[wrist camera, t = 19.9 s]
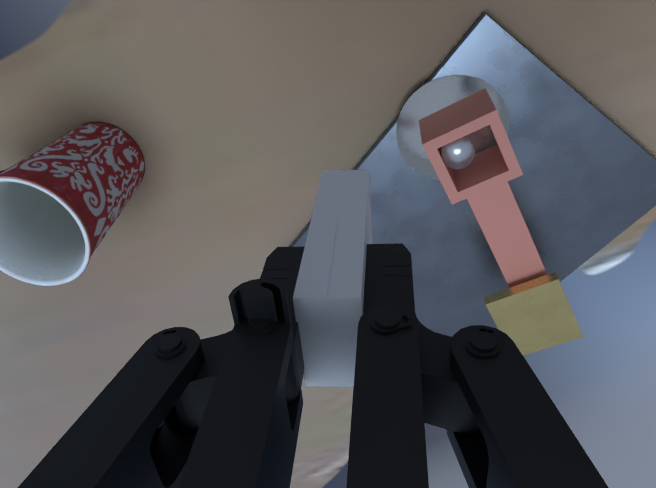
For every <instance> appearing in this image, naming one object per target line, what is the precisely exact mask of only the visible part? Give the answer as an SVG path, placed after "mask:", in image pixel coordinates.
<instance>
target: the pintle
mask: <svg viewBox="0 0 656 488" xmlns="http://www.w3.org/2000/svg"><path fill="white" fill-rule="evenodd" d="M440 150H441V155H442V159H443V162H444V163H445V164H446V165H447V166H448V167H450V168H452V169H462V168H465V167H467V166H468V165H469V164H471V162H472V161H473V159H474V157H475V149H474V146H473V143H472V140H471V137H470V134H468V135H466V136H464V137H462V138H459V139H457V140H455V141H453V142H451V143H449V144H446V145H444V146H442V147H440Z"/></svg>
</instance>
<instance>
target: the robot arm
mask: <svg viewBox="0 0 656 488" xmlns="http://www.w3.org/2000/svg"><path fill="white" fill-rule="evenodd" d="M228 297H229V301H230V306H231V310H232V315H233V319H234V324H235V325H234V328H233V330H232V331H229V332H227V333H225V334H222V335H218V336H214V337H210V338H206V339H201V340H200V337H199V335H198V334H197V333H196V332H195V331H194V330H192V329H189V328H186V327H174V328H169V329H165V330H162V331H160V332H158V333H156V334H154V335H153V336H152V337H151V338H149V339H148V340H147V341H146V342H145V343H144V344H143V345H142V346H141V347H140V349H139V350H138V351H137V352H136V353H135V354H134V355H133V357H132V358H131V359H130V360H129V361H128V362H127V363H126V365H125V366H124V367H123V368H122V369H121V370H120V371H119V373H118V374H117V375H116V376H115V377H114V378H113V379H112V381H111V382H110V383H109V384H108V385H107V386H106V387H105V389H104V390H103V391H102V392H101V393H100V394H99V395H98V397H97V398H96V399H95V400H94V401H93V402H92V403H91V405H90V406H89V407H88V408H87V409H86V410H85V411H84V413H83V414H82V415H81V416H80V417H79V418H78V419H77V421H76V422H75V423H74V424H73V425H72V426H71V427H70V429H69V430H68V431H67V432H66V433H65V434H64V435H63V437H62V438H61V439H60V440H59V441H58V442H57V443H56V445H55V446H54V447H53V448H52V449H51V450H50V451H49V453H48V454H47V455H46V456H45V457H44V458H43V459H42V461H41V462H40V463H39V464H38V465H37V466H36V467H35V469H34V470H33V471H32V472H31V473H30V474H29V475H28V477H27V478H26V479H25V480H24V481H23V482H22V483H21V485H20V486H19V487H18V488H290V482H291V476H292V469H293V463H294V457H295V451H296V444H297V438H298V432H299V426H300V419H301V413H302V407H303V398H302V391H301V385H302V379H303V373H304V380H305V386H337V387H354V389H353V403H352V417H351V432H350V446H349V460H348V474H347V488H429V485H428V471H427V456H426V443H425V442H426V441H425V428H424V423H428V424H431V425H434V426H437V427H441V428H444V429H447V435H448V437H449V440H450V442H451V445H452V447H453V450H454V452H455V454H456V457H457V460H458V462H459V464H460V467H461V469H462V472H463V474H464V477H465V479H466V481H467V484H468V486H469V488H608V486H607V485H606V483H605V482H604V480H603V478H602V477H601V475H600V474H599V472H598V471H597V469H596V468H595V466H594V465H593V463H592V462H591V460H590V459H589V457H588V456H587V454H586V453H585V451H584V449H583V448H582V446H581V445H580V443H579V441H578V440H577V438H576V437H575V435H574V434H573V432H572V431H571V429H570V428H569V426H568V425H567V423H566V422H565V420H564V418H563V417H562V416H561V414H560V412H559V411H558V409H557V408H556V406H555V404H554V403H553V402H552V400H551V399H550V397H549V396H548V394H547V392H546V391H545V389H544V388H543V386H542V384H541V383H540V381H539V380H538V378H537V377H536V375H535V374H534V372H533V371H532V369H531V368H530V366H529V365H528V363H527V361H526V360H525V358H524V357H523V355H522V354H521V352H520V351H519V349H518V347H517V346H516V344H515V343H514V341H513V340H512V339H511V338H510V337H509V336H508V335H507V334H506V333H504V332H502V331H500V330H498V329H496V328H494V327H489V326H485V325H471V326H468V327H465V328H462V329H460V330H459V331H457V332H456V333H455V334H454V335H453V337H451V336H447V335H443V334H440V333H436V332H433V331H432V330H430V329H428V328H426V327H425V326H424V325H423V324H421V323H420V321H419V320H418V318H417V317H416V313H415V302H414V288H413V274H412V259H411V253H410V252H409V250H408V249H407V248H406V247H405V246H404V244H403V243H397V244H372V224H371V201H370V178H369V169H367V170H339V171H322V175H321V179H320V183H319V188H318V192H317V196H316V200H315V205H314V209H313V213H312V218H311V222H310V226H309V231H308V235H307V239H306V243H305V247H277V248H276V249H275V250H274V251H273V252H272V253H271V254H270V255H269V256H268V257H267V259H266V262H265V265H264V268H263V271H262V274H261V277H260V279H256V280H250V281H248V282H245V283H242V284H240V285H239V286H238V287H236V288H235V289H233V291H232V292H231V293H230V295H229V296H228Z"/></svg>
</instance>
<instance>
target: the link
mask: <svg viewBox="0 0 656 488" xmlns="http://www.w3.org/2000/svg"><path fill="white" fill-rule="evenodd" d="M418 121H419V127H420V134H421V140H422V145H423V147H424V149H425V151H426V153H427V155H428V157H429V159H430V161H431V163H432V165H433V167H434V169H435V171H436V173H437V176H438V178H439V180H440V182H441V184H442V186H443V188H444V190H445V192H446V194H447V196H448V198H449V200H450V202H451V204H452V205H453V204H455V203H457V202H460V201H462V200H464V199H467V200H468V202H469V204H470V206H471V208H472V211H473V213H474V215H475V217H476V219H477V221H478V223H479V225H480V227H481V229H482V232H483V234H484V236H485V238H486V240H487V242H488V244H489V246H490V248H491V250H492V252H493V255H494V257H495V259H496V261H497V263H498V265H499V267H500V269H501V271H502V273H503V275H504V278H505V280H506V282H507V284H508V286H509V288H511V287H514V286H517V285H519V284H522V283H525V282H528V281H531V280H533V279H536V278H539V277H542V276H545V275H547V272H546V270H545V268H544V265H543V263H542V261H541V258H540V256H539V254H538V251H537V249H536V247H535V244H534V242H533V240H532V237H531V235H530V233H529V230H528V228H527V226H526V223H525V221H524V219H523V216H522V214H521V212H520V209H519V207H518V205H517V202H516V200H515V198H514V195H513V193H512V191H511V188H510V186H509V184H508V181H510V180H512V179H515V178H517V177H519V176H522V175H523V173H522V170H521V168H520V166H519V163H518V161H517V158H516V156H515V153H514V151H513V148H512V146H511V144H510V141H509V139H508V136H507V134H506V131H505V129H504V127H503V124H502V122H501V119H500V117H499V114H498V112H497V110H496V108H495V106H494V104H493V102H492V100H491V98H490V96H489V94H488V92H487V90H486V88H484V89H482V90H480V91H478V92H476V93H474V94H472V95H470V96H468V97H466V98H464V99H461V100H459V101H457V102H455V103H453V104H451V105H449V106H447V107H445V108H443V109H441V110H439V111H437V112H435V113H433V114H430V115H428V116H426V117H424V118H422V119H420V120H418ZM488 125H489V126H490V128H491V131H492V133H493V135H494V138H495V140H496V143H497V145H494V146H492V147H490V148H488V149H485V150H483V151H481V152H479V153H476V154H475V157H474V159H473V161H472V162H471V164H469V165H468V166H467V167H465V168H462V169H452V168H450V167H448V166H447V165H446V164H445V163H444V162H443V159H442V155H441V150H440V147H442V146H444V145H446V144H449V143H451V142H453V141H455V140H457V139H459V138H462V137H464V136H466V135H468V134H470V133H472V132H475V131H477V130H479V129H481V128H483V127H485V126H488Z"/></svg>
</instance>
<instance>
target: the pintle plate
mask: <svg viewBox="0 0 656 488" xmlns="http://www.w3.org/2000/svg"><path fill="white" fill-rule="evenodd" d="M484 88H486V90H487V92H488V94H489V96H490V98H491V100H492V102H493V104H494V106H495V108H496V110H497V112H498V114H499V117H500V119H501V122H502V124H503V127H504V129H505V131H506V134H507V136H508V139H509V141H510V144H511V146H512V148H513V151H514V153H515V156H516V158H517V161H518V163H519V166H520V168H521V170H522V173H523V175H522V176H519V177H517V178H515V179H512V180H510V181H508V184H509V186H510V188H511V191H512V193H513V195H514V198H515V200H516V202H517V205H518V207H519V209H520V212H521V214H522V216H523V219H524V221H525V223H526V226H527V228H528V230H529V233H530V235H531V237H532V240H533V242H534V244H535V247H536V249H537V251H538V254H539V256H540V258H541V261H542V263H543V265H544V268H545V270H546V272H547V275H548V274H550V273H553V272H556V274H557V276H558V279H559V281H561V280H563V279H564V278H565V277H566V276H567V275H569V274H570V273H572V272H573V271H574V270H575V269H577V268H578V267H579V266H580V265H582V264H583V263H584V262H585V261H587V260H588V259H589V258H590V257H592V256H593V255H594V254H595V253H597V252H598V251H599V250H600V249H602V248H603V247H604V246H605V245H607V244H608V243H609V242H610V241H612V240H613V239H614V238H615V237H617V236H618V235H619V234H620V233H622V232H623V231H624V230H625V229H627V228H628V227H629V226H630V225H632V224H633V223H634V222H635V221H637V220H638V219H639V218H641V217H642V216H643V215H644V214H646V213H647V212H648V211H649V210H651V209H652V208H653V207H654V206H656V159H655V158H654V157H652V156H651V155H650V154H649V153H648V152H647V151H645V150H644V149H643V148H642V147H641V146H640V145H638V144H637V143H636V142H635V141H634V140H633V139H631V138H630V137H629V136H628V135H627V134H626V133H624V132H623V131H622V130H621V129H620V128H619V127H617V126H616V125H615V124H614V123H613V122H612V121H610V120H609V119H608V118H607V117H606V116H605V115H603V114H602V113H601V112H600V111H599V110H598V109H596V108H595V107H594V106H593V105H592V104H591V103H589V102H588V101H587V100H586V99H585V98H584V97H582V96H581V95H580V94H579V93H578V92H577V91H575V90H574V89H573V88H572V87H571V86H570V85H568V84H567V83H566V82H565V81H564V80H563V79H561V78H560V77H559V76H558V75H557V74H556V73H554V72H553V71H552V70H551V69H550V68H549V67H547V66H546V65H545V64H544V63H543V62H542V61H540V60H539V59H538V58H537V57H536V56H535V55H533V54H532V53H531V52H530V51H529V50H528V49H526V48H525V47H524V46H523V45H522V44H521V43H519V42H518V41H517V40H516V39H515V38H514V37H512V36H511V35H510V34H509V33H508V32H507V31H505V30H504V29H503V28H502V27H501V26H500V25H498V24H497V23H496V22H495V21H494V20H493V19H491V18H490V17H489V16H488V15H487V14H486V13H484V12H483V13H482V14H481V16H480V17H479V18H478V19H477V20H476V22H475V23H474V24H473V25H472V27H471V28H470V29H469V30H468V31H467V33H466V34H465V35H464V36H463V37H462V39H461V40H460V41H459V42H458V43H457V45H456V46H455V47H454V48H453V50H452V51H451V52H450V53H449V54H448V56H447V57H446V58H445V59H444V60H443V62H442V63H441V64H440V65H439V66H438V68H437V69H436V70H435V71H434V72H433V74H432V75H431V76H430V77H429V79H428V80H427V81H426V82H425V83H424V85H423V86H421V87H420V88H419V89H418V90H416V91H415V92H414V93H413V94H412V95H411V96H410V97H409V99H408V100H407V101H406V103H405V104H404V106H403V108H402V110H401V112H400V114H399V115H398V116H397V117H396V118H395V120H394V121H393V122H392V123H391V125H390V126H389V127H388V128H387V129H386V131H385V132H384V133H383V134H382V135H381V137H380V138H379V139H378V140H377V141H376V143H375V144H374V145H373V146H372V147H371V149H370V150H369V151H368V152H367V154H366V155H365V156H364V157H363V158H362V160H361V161H360V162H359V163H358V164H357V166H356V167H355V168H354V169H353V170H367V169H369V178H370V201H371V224H372V244H397V243H403V244H404V246H405V247H406V248H407V249H408V250H409V252H410V253H411V259H412V274H413V288H414V302H415V313H416V317H417V318H418V320H419V321H420V323H421V324H423V325H424V326H425V327H426V328H428V329H430V330H432V331H433V332H436V333H440V334H443V335H447V336H451V337H453V335H454V334H455V333H456V332H457V331H459V330H460V329H462V328H465V327H468V326H471V325H485V326H489V327H494V328H496V329H498V328H497V326H496V324H495V322H494V320H493V318H492V316H491V314H490V312H489V310H488V308H487V306H486V304H485V300H484V297H486V296H488V295H491V294H494V293H497V292H500V291H502V290H505V289H508V288H509V286H508V284H507V282H506V280H505V278H504V275H503V273H502V271H501V269H500V267H499V265H498V263H497V261H496V259H495V257H494V255H493V252H492V250H491V248H490V246H489V244H488V242H487V240H486V238H485V236H484V234H483V232H482V229H481V227H480V225H479V223H478V221H477V219H476V217H475V215H474V213H473V211H472V208H471V206H470V204H469V202H468V200H467V199H464V200H462V201H460V202H457V203H455V204H453V205H452V204H451V202H450V200H449V198H448V196H447V194H446V192H445V190H444V188H443V186H442V184H441V182H440V180H439V178H438V176H437V173H436V171H435V169H434V167H433V165H432V163H431V161H430V159H429V157H428V155H427V153H426V151H425V149H424V147H423V145H422V140H421V134H420V127H419V121H418V120H420V119H422V118H424V117H426V116H428V115H430V114H433V113H435V112H437V111H439V110H441V109H443V108H445V107H447V106H449V105H451V104H453V103H455V102H457V101H459V100H461V99H464V98H466V97H468V96H470V95H472V94H474V93H476V92H478V91H480V90H482V89H484ZM470 137H471V140H472V143H473V146H474V149H475V154H476V153H479V152H481V151H483V150H485V149H488V148H490V147H492V146H494V145H497V143H496V140H495V138H494V135H493V133H492V131H491V128H490V126H489V125H488V126H485V127H483V128H481V129H479V130H477V131H475V132H472V133H470ZM310 222H311V221H310ZM310 222H309V224H308V225H307V226H306V227H305V229H304V230H303V231H302V232H301V233H300V235H299V236H298V237H297V238H296V239H295V241H294V242H293V243H292V244H291V245H290V247H305V243H306V239H307V235H308V231H309V226H310Z"/></svg>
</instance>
